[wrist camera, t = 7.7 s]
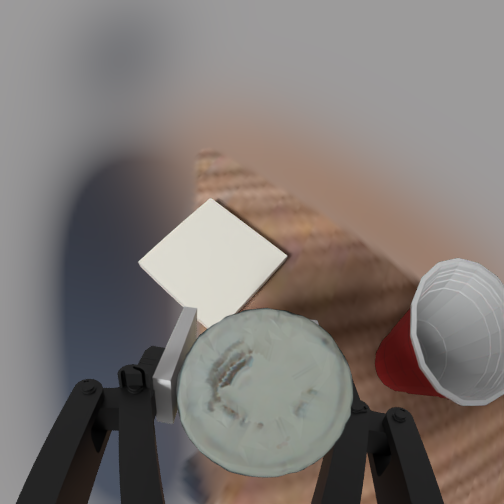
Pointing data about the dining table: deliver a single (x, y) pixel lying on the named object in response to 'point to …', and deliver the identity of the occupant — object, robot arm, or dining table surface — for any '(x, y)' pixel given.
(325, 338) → the sauce bottle
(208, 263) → the cream pad
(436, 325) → the plastic cup
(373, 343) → the dining table surface
